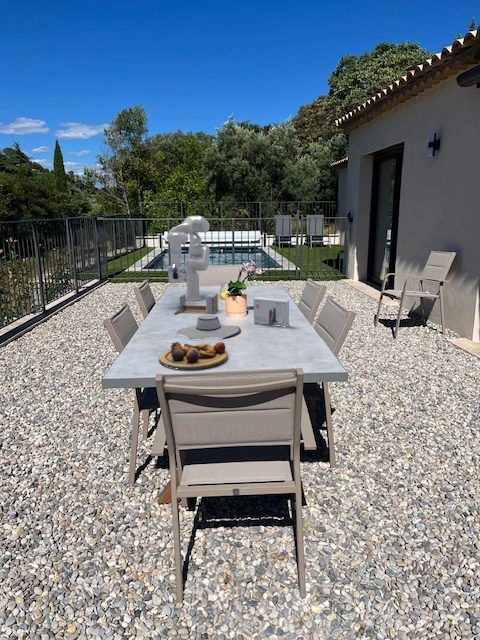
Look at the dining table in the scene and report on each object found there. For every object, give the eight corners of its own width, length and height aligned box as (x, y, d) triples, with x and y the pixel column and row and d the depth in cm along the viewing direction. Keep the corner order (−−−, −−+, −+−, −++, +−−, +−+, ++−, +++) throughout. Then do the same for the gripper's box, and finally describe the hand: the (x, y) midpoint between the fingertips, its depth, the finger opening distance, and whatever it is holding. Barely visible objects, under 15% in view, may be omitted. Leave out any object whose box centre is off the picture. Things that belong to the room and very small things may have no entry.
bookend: (180, 309, 305) (180, 294, 302) (185, 309, 304) (185, 294, 302) (176, 312, 296) (176, 297, 294) (182, 312, 296) (181, 297, 293)
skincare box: (253, 324, 270) (253, 298, 266) (256, 322, 274) (256, 296, 270) (286, 328, 261) (286, 301, 257) (289, 325, 265) (289, 299, 261)
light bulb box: (186, 281, 310) (185, 265, 308) (183, 282, 304) (183, 267, 301) (171, 281, 311) (170, 265, 309) (168, 282, 305) (167, 267, 302)
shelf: (179, 310, 307) (178, 293, 304) (218, 311, 303) (217, 293, 300) (174, 314, 295) (173, 296, 292) (214, 315, 291) (213, 297, 288)
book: (209, 309, 303) (208, 294, 300) (215, 310, 302) (215, 294, 299) (206, 313, 294) (205, 296, 291) (213, 313, 293) (212, 296, 290)
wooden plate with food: (230, 348, 225) (229, 332, 223) (225, 370, 194) (225, 352, 192) (166, 349, 226) (165, 334, 224) (152, 371, 195) (151, 353, 193)
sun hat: (250, 327, 265) (250, 312, 262) (224, 345, 233) (224, 328, 230) (195, 321, 278) (195, 307, 276) (164, 337, 246) (163, 321, 244)
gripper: (174, 250, 311) (175, 276, 316) (166, 253, 295) (167, 280, 299) (184, 250, 310) (185, 276, 315) (177, 253, 294) (178, 280, 298)
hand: (177, 277), depth 307 cm, fingers closed on light bulb box, 6 cm apart
